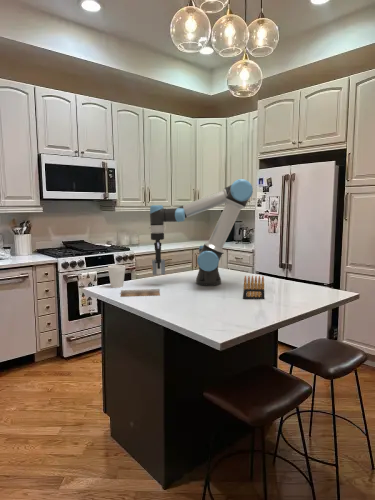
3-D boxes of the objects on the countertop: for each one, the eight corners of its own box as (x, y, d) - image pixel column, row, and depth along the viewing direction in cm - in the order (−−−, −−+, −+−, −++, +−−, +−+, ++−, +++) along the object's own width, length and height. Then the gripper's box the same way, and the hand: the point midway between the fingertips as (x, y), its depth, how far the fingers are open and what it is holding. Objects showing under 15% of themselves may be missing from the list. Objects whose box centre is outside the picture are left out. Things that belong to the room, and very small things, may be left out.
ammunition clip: (263, 298, 182) (264, 275, 180) (264, 299, 180) (265, 275, 178) (242, 298, 182) (243, 275, 180) (243, 299, 180) (243, 275, 179)
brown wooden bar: (159, 291, 189) (159, 289, 188) (159, 292, 186) (159, 290, 186) (121, 293, 186) (121, 290, 186) (120, 294, 184) (120, 291, 183)
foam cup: (113, 291, 195) (112, 268, 193) (105, 288, 202) (105, 266, 200) (128, 289, 201) (128, 266, 199) (120, 286, 208) (120, 264, 206)
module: (164, 272, 207) (164, 259, 206) (165, 274, 202) (164, 260, 201) (151, 273, 206) (151, 259, 205) (151, 274, 201) (151, 260, 200)
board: (158, 292, 194) (158, 289, 194) (160, 298, 181) (160, 295, 181) (121, 293, 191) (121, 290, 191) (120, 299, 179) (120, 296, 178)
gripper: (150, 231, 209) (151, 270, 212) (151, 234, 192) (152, 276, 195) (162, 231, 210) (164, 270, 213) (165, 233, 193) (166, 275, 196)
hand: (158, 273), depth 204 cm, fingers closed on module, 5 cm apart
